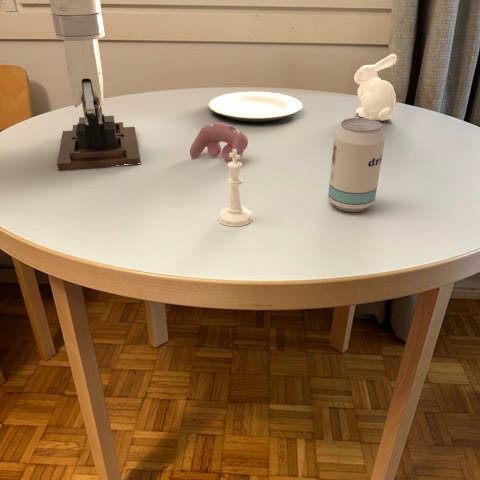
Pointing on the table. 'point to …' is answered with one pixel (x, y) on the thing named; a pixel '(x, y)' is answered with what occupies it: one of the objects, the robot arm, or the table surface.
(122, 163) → the brown stepped block
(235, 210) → the chess piece
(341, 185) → the beverage can
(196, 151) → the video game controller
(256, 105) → the plate
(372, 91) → the rabbit
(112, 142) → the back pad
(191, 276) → the table surface
